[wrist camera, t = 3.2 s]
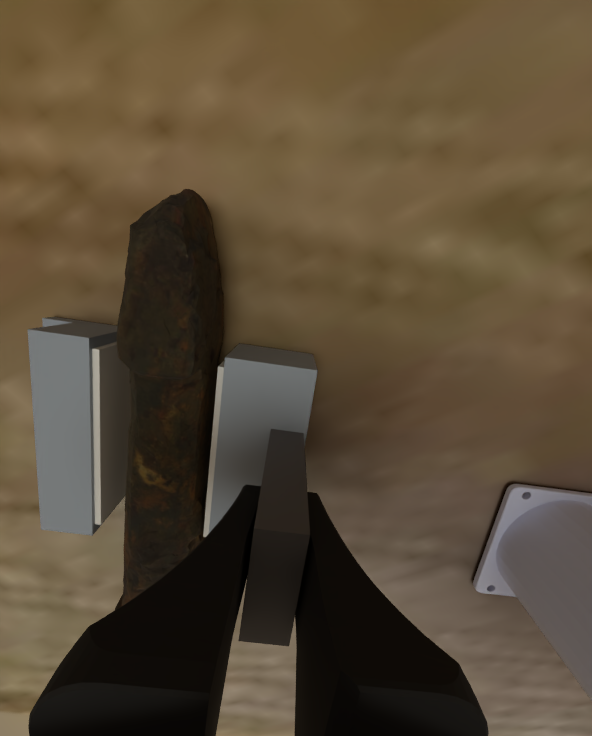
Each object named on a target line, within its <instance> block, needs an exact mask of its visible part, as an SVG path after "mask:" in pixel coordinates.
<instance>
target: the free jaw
mask: <svg viewBox="0 0 592 736" xmlns="http://www.w3.org/2000/svg"><path fill="white" fill-rule="evenodd" d="M317 371H318V370H317V367H316V363H315V360H314V356H313V354H309V353H302V352H295V351H288V350H281V349H274V348H267V347H260V346H253V345H247V344H240V343H239V344H238V345H237V346H236V347H235V348H234V349H233V350H232V351H231V352H230V353H229V354H228V355H227V356H226V357H225V360H224V361H223V362H222V363H221V364H220V365H219V366H218V373H217V385H216V396H215V407H214V419H213V430H212V441H211V453H210V464H209V475H208V487H207V498H206V509H205V521H204V532H203V537H206V536H207V535H208V534H209V533H210V532H211V531H212V529H213V528H214V527H215V526H216V525H217V524H218V522H219V521H220V520H221V519H222V517H223V516H224V515H225V514H226V512H227V511H228V510H229V508H230V507H231V506H232V504H233V503H234V501H235V500H236V498H237V497H238V495H239V493H240V492H241V490H242V488H243V486H245V485H246V484H247V485H255V486H261V490H260V496H259V502H258V508H257V513H256V519H255V525H254V532H253V539H252V547H251V554H250V561H249V569H248V576H247V583H246V591H245V598H244V606H243V613H242V620H241V628H240V635H239V641H244V642H253V643H263V644H272V645H282V646H289V643H290V638H291V633H292V628H293V622H294V617H295V612H296V607H297V601H298V596H299V591H300V586H301V580H302V575H303V570H304V565H305V559H306V554H307V549H308V543H309V538H310V525H309V510H308V494H307V479H306V463H305V448H304V447H305V441H306V435H307V430H308V424H309V418H310V412H311V406H312V400H313V394H314V389H315V383H316V377H317Z"/></svg>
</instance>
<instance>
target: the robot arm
mask: <svg viewBox="0 0 592 736" xmlns="http://www.w3.org/2000/svg"><path fill="white" fill-rule="evenodd" d="M260 490H261V486H255V485H247V484H246V485H245V486H243V488H242V490H241V492H240V493H239V495H238V497H237V498H236V500H235V501H234V503H233V504H232V506H231V507H230V508H229V510H228V511H227V512H226V514H225V515H224V516H223V517H222V519H221V520H220V521H219V522H218V524H217V525H216V526H215V527H214V528H213V529H212V531H211V532H210V533H209V534H208V535H207V536H206V537H205V538H204V539H203V541H202V542H201V543H200V544H199V545H198V546H197V547H196V548H195V549H194V550H193V551H192V552H191V553H189V554H188V555H187V556H186V557H185V558H184V559H183V560H182V561H181V562H180V563H178V564H177V565H176V566H175V567H174V568H173V569H172V570H170V571H169V572H168V573H167V574H166V575H164V576H163V577H162V578H161V579H159V580H158V581H157V582H155V583H154V584H153V585H151V586H150V587H148V588H147V589H146V590H144V591H143V592H142V593H140V594H139V595H138V596H136V597H135V598H133V599H132V600H131V601H129V602H128V603H126V604H125V605H123V606H121V607H120V608H118V609H117V610H115V611H113V612H112V613H110V614H109V615H107V616H105V617H104V618H102V619H101V620H99V621H97V622H96V623H94V624H92V625H90V626H89V627H88V628H87V629H86V631H85V632H84V633H83V634H82V636H81V637H80V638H79V639H78V641H77V642H76V643H75V645H74V646H73V647H72V649H71V650H70V651H69V653H68V654H67V655H66V657H65V658H64V659H63V661H62V662H61V664H60V665H59V667H58V668H57V670H56V671H55V673H54V675H53V676H52V678H51V679H50V681H49V683H48V684H47V686H46V688H45V689H44V691H43V692H42V694H41V696H40V697H39V699H38V701H37V702H36V704H35V706H34V708H33V709H32V711H31V713H30V718H29V735H30V736H216V730H217V724H218V718H219V712H220V706H221V700H222V694H223V688H224V683H225V677H226V671H227V665H228V659H229V654H230V648H231V642H232V637H233V632H234V628H235V623H236V619H237V615H238V611H239V607H240V603H241V599H242V595H243V591H244V587H245V583H246V579H247V575H248V569H249V561H250V554H251V547H252V539H253V532H254V525H255V519H256V513H257V508H258V502H259V496H260ZM525 492H526V493H525ZM523 493H525V494H524V495H523ZM307 494H308V510H309V525H310V538H309V543H308V549H307V554H306V559H305V565H304V570H303V575H302V580H301V586H300V591H299V596H298V601H297V607H296V612H295V619H296V641H297V657H296V705H295V736H488V726H487V721H486V719H485V717H484V714H483V712H482V710H481V708H480V705H479V703H478V701H477V698H476V696H475V694H474V692H473V690H472V688H471V686H470V684H469V682H468V680H467V678H466V677H465V675H464V673H463V671H462V669H461V667H460V665H459V663H457V662H456V661H455V660H454V659H453V658H451V657H450V656H449V655H448V654H447V653H445V652H444V651H443V650H442V649H441V648H439V647H438V646H437V645H436V644H435V643H433V642H432V641H431V640H430V639H429V638H427V637H426V636H425V635H424V634H423V633H422V632H421V631H420V630H419V629H417V628H416V627H415V626H414V625H413V624H412V623H411V622H410V621H409V620H408V619H407V618H406V617H405V616H404V615H403V614H402V613H401V612H400V611H399V610H398V609H397V608H396V607H395V606H394V605H393V604H392V603H391V602H390V601H389V600H388V599H387V598H386V597H385V595H384V594H383V593H382V592H381V591H380V590H379V589H378V588H377V587H376V586H375V584H374V583H373V582H372V581H371V580H370V578H369V577H368V576H367V575H366V573H365V572H364V571H363V569H362V568H361V567H360V565H359V564H358V563H357V561H356V560H355V558H354V557H353V556H352V554H351V553H350V551H349V550H348V548H347V547H346V545H345V543H344V542H343V540H342V539H341V537H340V535H339V534H338V532H337V530H336V529H335V527H334V525H333V523H332V521H331V520H330V518H329V516H328V514H327V512H326V510H325V508H324V506H323V504H322V502H321V500H320V497H319V496H318V494H317V493H311V492H307ZM473 586H474V587H475V589H476V591H478V592H480V593H486V594H495V595H504V596H512V597H517V598H518V600H519V601H520V603H521V604H522V605H523V607H524V608H525V609H526V611H527V612H528V614H529V615H530V616H531V618H532V619H533V621H534V622H535V623H536V625H537V626H538V627H539V629H540V630H541V632H542V633H543V634H544V636H545V637H546V639H547V640H548V641H549V643H550V644H551V645H552V647H553V648H554V650H555V651H556V652H557V654H558V655H559V656H560V658H561V659H562V661H563V662H564V663H565V665H566V666H567V668H568V669H569V670H570V672H571V673H572V674H573V676H574V677H575V679H576V680H577V681H578V683H579V684H580V686H581V687H582V688H583V690H584V691H585V692H586V694H587V695H588V697H589V698H590V699H591V701H592V493H584V492H577V491H569V490H561V489H554V488H546V487H538V486H531V485H523V484H512V485H510V486H509V487H508V488H507V490H506V492H505V495H504V498H503V501H502V503H501V506H500V509H499V512H498V514H497V517H496V520H495V523H494V526H493V528H492V531H491V534H490V537H489V539H488V542H487V545H486V548H485V550H484V553H483V556H482V559H481V561H480V564H479V567H478V570H477V572H476V575H475V578H474V581H473Z"/></svg>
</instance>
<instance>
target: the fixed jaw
mask: <svg viewBox="0 0 592 736" xmlns="http://www.w3.org/2000/svg"><path fill="white" fill-rule="evenodd" d="M42 320H43V327H40V328H33V329H28V341H29V356H30V371H31V386H32V401H33V416H34V431H35V446H36V461H37V476H38V491H39V506H40V521H41V530H50V531H58V532H67V533H75V534H84V535H93V534H94V533H95V532H96V531H97V529H98V528H99V527H100V526H101V524H102V523H103V522H104V521H105V520H106V518H107V517H108V516H109V515H110V514H111V512H112V511H113V510H114V509H115V507H116V506H117V505H118V504H119V503H120V501H121V500H122V499H123V498H124V496H125V495H126V474H127V460H128V431H129V426H130V421H131V388H130V373H129V371H130V369H129V368H128V367H127V366H126V365H125V364H124V363H123V362H122V361H121V360H120V359H119V358H118V350H117V339H116V337H117V326H115V325H108V324H101V323H94V322H87V321H80V320H73V319H66V318H59V317H49V318H42Z"/></svg>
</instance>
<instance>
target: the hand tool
mask: <svg viewBox="0 0 592 736" xmlns="http://www.w3.org/2000/svg"><path fill="white" fill-rule="evenodd" d="M125 278H126V279H125V285H124V292H123V298H122V303H121V308H120V313H119V319H118V326H117V337H116V339H117V350H118V358H119V359H120V360H121V361H122V362H123V363H124V364H125V365H126V366H127V367H128V368H129V369H130V371H129V373H130V388H131V421H130V426H129V431H128V460H127V474H126V500H125V532H124V578H123V583H124V589H123V595H122V596H121V598H120V600H119V602H118V604H117V606H116V608H115V610H117V609H118V608H120V607H121V606H123V605H125V604H126V603H128V602H129V601H131V600H132V599H133V598H135V597H136V596H138V595H139V594H140V593H142V592H143V591H144V590H146V589H147V588H148V587H150V586H151V585H153V584H154V583H155V582H157V581H158V580H159V579H161V578H162V577H163V576H164V575H166V574H167V573H168V572H169V571H170V570H172V569H173V568H174V567H175V566H176V565H177V564H178V563H180V562H181V561H182V560H183V559H184V558H185V557H186V556H187V555H188V554H189V553H191V552H192V551H193V550H194V549H195V548H196V547H197V546H198V545H199V544H200V543H201V542H202V541H203V539H204V538H205V537H203V532H204V521H205V517H204V509H205V500H206V494H207V487H208V475H209V459H210V446H211V433H212V421H213V414H214V400H215V388H216V378H217V366H218V358H219V353H220V349H221V345H222V341H223V292H222V290H221V281H220V269H219V263H218V256H217V248H216V243H215V238H214V233H213V227H212V221H211V216H210V213H209V210H208V207H207V205H206V203H205V201H204V200H203V199H202V198H201V197H200V196H199V195H198V194H197V193H196V192H195V191H193V190H190V189H184V190H183V191H182V192H181V193H179V194H176V195H170V196H169V197H168V198H166V199H165V200H162V201H161V202H160V203H159V204H158V205H156V206H155V207H153V208H152V209H150V210H149V211H147V212H145V213H144V214H143V215H142V216H141V217H140V218H139V220H138V221H136V222H135V223H133V224H131V225H130V241H129V247H128V257H127V263H126V269H125Z"/></svg>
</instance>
